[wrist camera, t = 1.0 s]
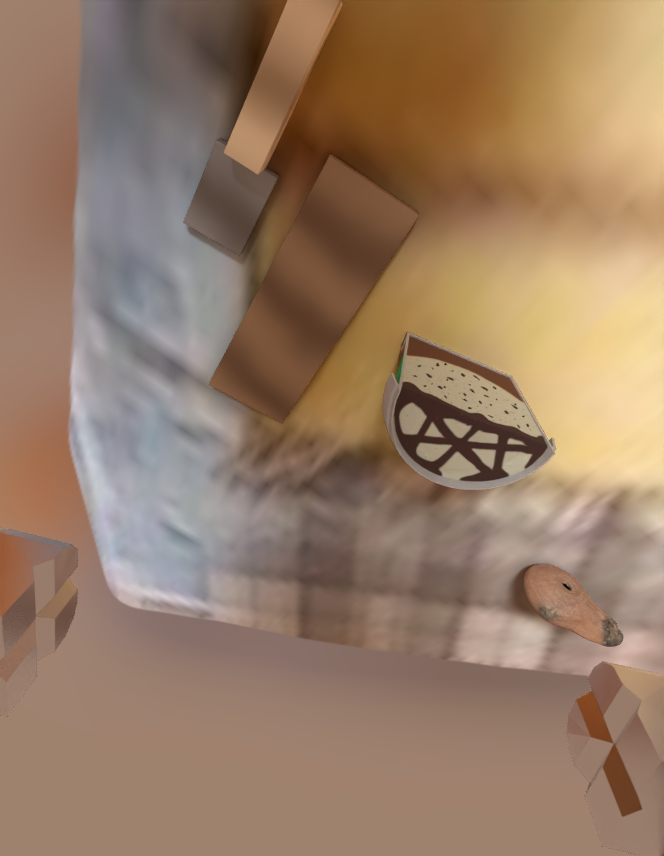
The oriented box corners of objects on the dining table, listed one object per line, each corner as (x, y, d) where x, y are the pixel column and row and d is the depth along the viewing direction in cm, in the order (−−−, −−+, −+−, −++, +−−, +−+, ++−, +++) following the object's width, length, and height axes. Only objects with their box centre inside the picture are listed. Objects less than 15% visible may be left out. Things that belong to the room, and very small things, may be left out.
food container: (357, 387, 45) (352, 459, 37) (390, 324, 42) (391, 387, 33) (487, 439, 47) (510, 518, 38) (527, 382, 43) (562, 456, 35)
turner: (291, -34, 30) (283, -43, 28) (357, 15, 31) (355, 10, 29) (187, 219, 38) (173, 229, 36) (242, 252, 39) (233, 264, 37)
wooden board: (330, 153, 35) (329, 155, 34) (418, 212, 37) (419, 215, 36) (211, 378, 45) (208, 384, 45) (284, 417, 47) (282, 423, 46)
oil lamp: (609, 569, 54) (640, 638, 48) (588, 594, 56) (615, 663, 50) (526, 548, 53) (547, 615, 47) (508, 573, 56) (526, 642, 49)
